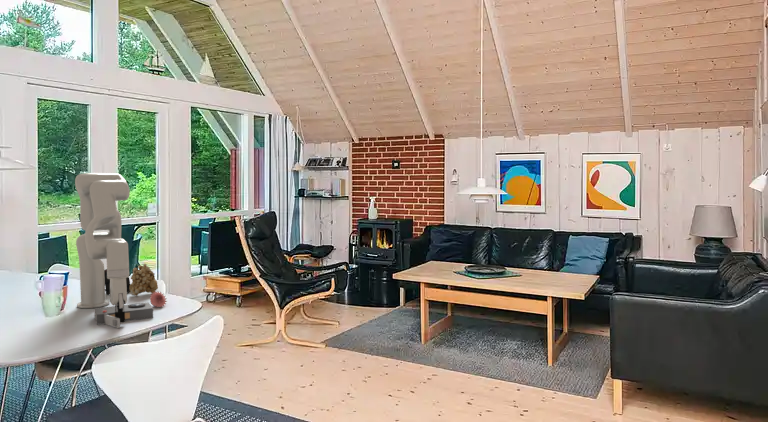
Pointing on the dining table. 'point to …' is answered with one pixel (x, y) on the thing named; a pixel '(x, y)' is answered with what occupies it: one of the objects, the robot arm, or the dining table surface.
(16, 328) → the dining table surface
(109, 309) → the camera body
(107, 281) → the black ridged block
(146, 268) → the mineral formation
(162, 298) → the flower
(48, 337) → the dining table surface
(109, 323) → the port door
